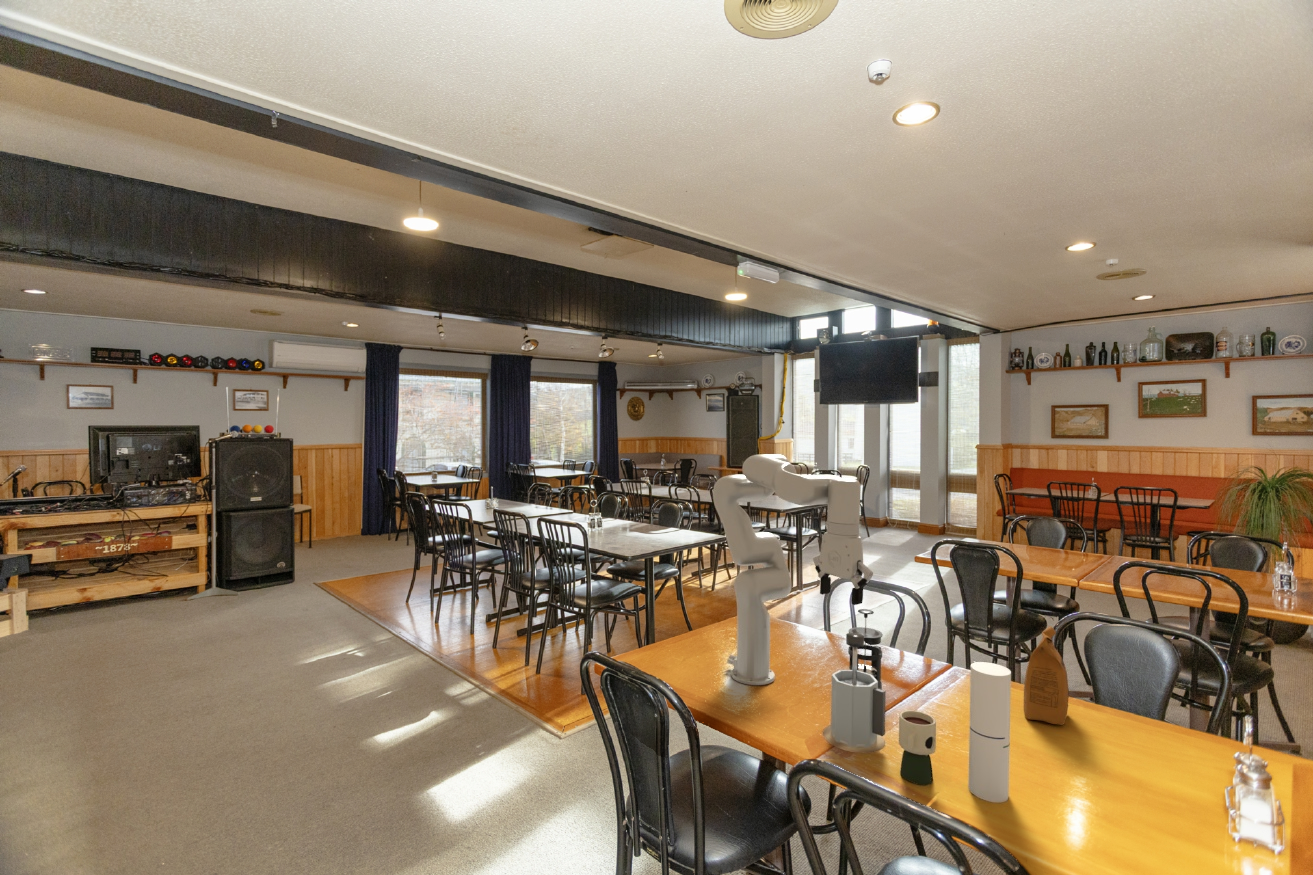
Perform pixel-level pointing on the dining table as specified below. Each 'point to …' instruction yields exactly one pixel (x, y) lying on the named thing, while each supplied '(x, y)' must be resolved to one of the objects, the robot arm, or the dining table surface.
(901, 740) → the character mug
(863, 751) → the trivet
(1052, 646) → the coffee package
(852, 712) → the carafe
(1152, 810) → the dining table surface
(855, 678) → the plunger
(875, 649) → the french press
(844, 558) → the robot arm
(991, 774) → the cylindrical container
